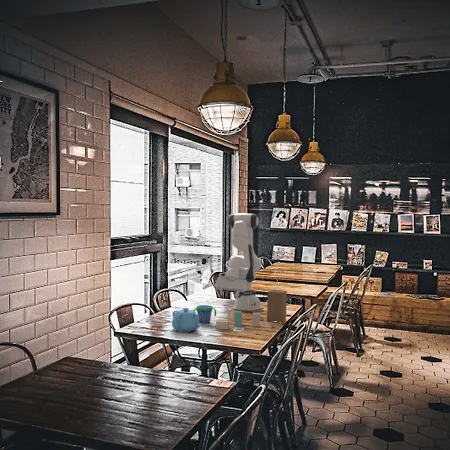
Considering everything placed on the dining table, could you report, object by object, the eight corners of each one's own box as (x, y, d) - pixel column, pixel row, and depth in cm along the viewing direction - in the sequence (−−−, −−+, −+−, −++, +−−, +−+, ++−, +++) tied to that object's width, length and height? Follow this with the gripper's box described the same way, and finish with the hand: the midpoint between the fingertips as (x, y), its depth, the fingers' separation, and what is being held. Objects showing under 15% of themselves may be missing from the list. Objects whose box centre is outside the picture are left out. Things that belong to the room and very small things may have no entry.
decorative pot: (197, 327, 316) (198, 305, 316) (200, 333, 300) (200, 310, 300) (171, 327, 314) (172, 305, 314) (172, 333, 298) (172, 310, 298)
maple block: (217, 326, 319) (217, 318, 319) (228, 327, 318) (228, 319, 318) (215, 329, 312) (216, 321, 312) (227, 329, 311) (227, 321, 311)
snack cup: (193, 324, 322) (194, 308, 321) (191, 320, 332) (191, 305, 332) (217, 323, 326) (218, 308, 325) (214, 319, 336) (214, 304, 335)
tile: (234, 327, 316) (234, 326, 316) (243, 328, 315) (243, 327, 315) (233, 331, 307) (233, 330, 307) (243, 331, 306) (243, 330, 306)
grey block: (252, 324, 325) (253, 312, 325) (259, 325, 325) (260, 312, 324) (252, 326, 321) (252, 314, 320) (259, 326, 320) (259, 314, 320)
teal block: (234, 324, 324) (235, 310, 324) (241, 324, 324) (242, 311, 324) (234, 326, 320) (234, 312, 320) (241, 326, 320) (241, 312, 319)
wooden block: (266, 321, 336) (267, 291, 335) (272, 318, 344) (273, 289, 344) (280, 323, 331) (281, 293, 330) (286, 320, 340) (287, 290, 339)
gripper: (248, 281, 339) (244, 299, 331) (218, 278, 343) (214, 296, 336) (247, 276, 334) (243, 294, 326) (217, 273, 338) (212, 291, 331)
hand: (228, 295), depth 331 cm, fingers open, 8 cm apart
